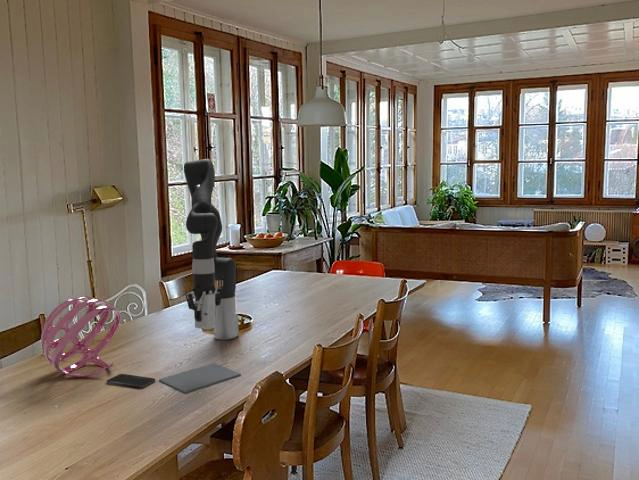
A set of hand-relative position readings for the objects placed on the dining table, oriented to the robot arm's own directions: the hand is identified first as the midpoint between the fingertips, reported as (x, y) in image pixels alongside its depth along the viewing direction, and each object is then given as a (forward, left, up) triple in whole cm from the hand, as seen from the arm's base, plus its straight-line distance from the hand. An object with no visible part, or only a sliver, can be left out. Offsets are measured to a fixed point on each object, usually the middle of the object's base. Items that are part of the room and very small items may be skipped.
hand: (205, 319), depth 211 cm
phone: (+24, -9, -19) cm, 32 cm away
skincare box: (0, 0, -3) cm, 3 cm away
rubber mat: (+6, +5, -18) cm, 20 cm away
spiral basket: (+30, -32, -18) cm, 48 cm away
